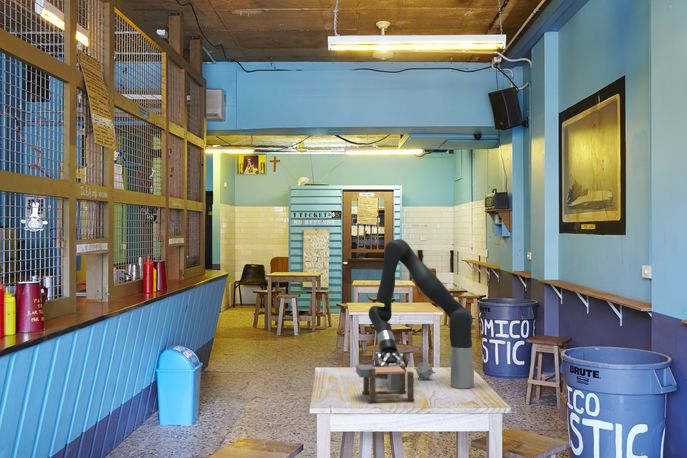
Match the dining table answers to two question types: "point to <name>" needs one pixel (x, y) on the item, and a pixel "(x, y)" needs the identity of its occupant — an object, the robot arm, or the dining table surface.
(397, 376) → the slate block
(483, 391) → the dining table surface
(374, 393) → the frame
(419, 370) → the game die
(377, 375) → the marble piece
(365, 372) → the trapdoor
